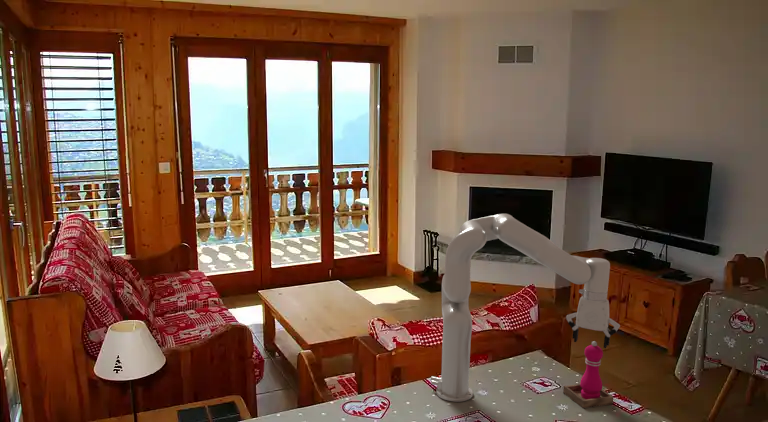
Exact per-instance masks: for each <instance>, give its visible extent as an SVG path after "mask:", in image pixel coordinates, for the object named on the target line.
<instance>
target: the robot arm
mask: <svg viewBox="0 0 768 422" xmlns="http://www.w3.org/2000/svg"><path fill="white" fill-rule="evenodd" d="M498 239H499V241H501V242H502V243H504V244H507V246H509V247H512V248H513V249H515V250H517V251H518V252H520V253H522V254H524V255H525V256H527V257H529V258H530V259H532V260H534V262H536V263H538V264H540V265H542V266H544V267H545V268H547V269H549V270H550V271H552V272H554V273H556V274H557V275H559V276H560V277H562V278H564V279H566V280H567V281H569V282H570V283H573V284H575V285H584V286H583V288H582V289H579V290H578V293H579V294H581V297H579V301H578V306H577V312H573V313H569V314H567V315H566V316H565V319H566V321H567V323H568V326H570V328H571V329H572V339H573V343H577V342H578V340H579V328H582V329H586V330H592V331H596V332H597V331H598V332H603V333H604V339H603V340H604V341H603V348H604V349H607V347H608V346H610V341H611V340H610V339H611V337H612V336H613V335H615V334H616V333H617V331H618V330H619V329H620V327H621V325H620V323H618V322H616V321H615V320H613V319H612V318H610V302H609V299H608V292H609V291H608V290H609V289H608V288H609V282H610V280H609V279H610V271H611V263H610V261H609V260H607V259H606V258H601V257H590V258H589V257H583V256H579V255H571V254H570V253H568V252H567V251H565V250H564V249H562V248H561V247H559V246H558V244H555V243H554V242H553V241H552V240H550V239H549V238H548V237H547V236H545V235H544V234H541V233H540V232H538V231H536V230H534V229H533V228H531V227H529V226H527V225H526V224H524V223H523V222H521V221H520V220H518V219H516V218H515V217H513V215H511V214H509V213H497V214H494V215H488V216H484V217H479V218H473V219H470V220H466V221H465V222H463V224H462V225H461V226H460V228H459V231H458V234H456V236H455V237H453V238H452V240H451V241H449V243H448V246H447V248H446V251H445V262H444V274H443V276H442V280H441V314H442V323H443V325H442V326H443V327H442V342H441V343H442V345H441V346H442V348H441V376H440V377H437V376H433V375H432V376H431V377H430V383H431V385H434V386H437V388H436V395H437V396H438V398H440V399H442V400H445V401H447V402H448V401H449V402H455V403H457V402H458V403H461V402H466V401H469V400H470V399H472V397H473V396H474V392H473V391H474V390H473V389H472V388H471V386H469V385H470V364H471V362H470V361H471V358H470V357H471V340H472V332H473V318H472V314H471V311H470V309H469V308H470V307H469V305H470V304H469V303H470V302H469V300H470V299H469V297H470V295H471V291H472V285H471V264H472V263H471V261H472V258H473V255H474V254H475V253H476V252H477V251H479V250H481V249H482V248H483V247H484V246H485V244H487V242H488V241H492V240H493V241H495V240H498ZM573 319H575V322H574V321H573ZM609 325H612V326H613V328H612V329H611V330H610V329H609Z"/></svg>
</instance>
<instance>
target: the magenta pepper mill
mask: <svg viewBox="0 0 768 422" xmlns="http://www.w3.org/2000/svg"><path fill="white" fill-rule="evenodd" d="M583 354H584V357H585V359H584V360H585V362H584V363H585V364H586V368H585V371H584V373H583V375H582V376H581V379H580V383H579V384H580V386H581V388H582V390H581V396H582V398H584V399H594V398H600V391H601V390H603V381H602V378H601V376H600V371H599V368H600V366H601V364H602V360H601V359H603V357H604V351H603V349H602V348H601V347H600V346H599V345H598V342H597V341H595V340H594V341H591V344H590V345H588V346H586V347H584V353H583Z"/></svg>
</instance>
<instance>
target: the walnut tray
mask: <svg viewBox="0 0 768 422" xmlns="http://www.w3.org/2000/svg"><path fill="white" fill-rule="evenodd" d="M581 390H582V388H581V386H580V383H579V384H578V383H577V384H569V385H564V386H563V395H565V396H567V397H568V398H569V399H570V400H572V401H573V402H574V403H576V404H577V405H578V406H579V407H581V408H582V409H588V408H595V407H603V406H611V405H614V396H613V395H611V394H610V393H609V392H607V391H605V390H604V389H602V390H601V391H600V398H594V399H584V398H582V396H581Z"/></svg>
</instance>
